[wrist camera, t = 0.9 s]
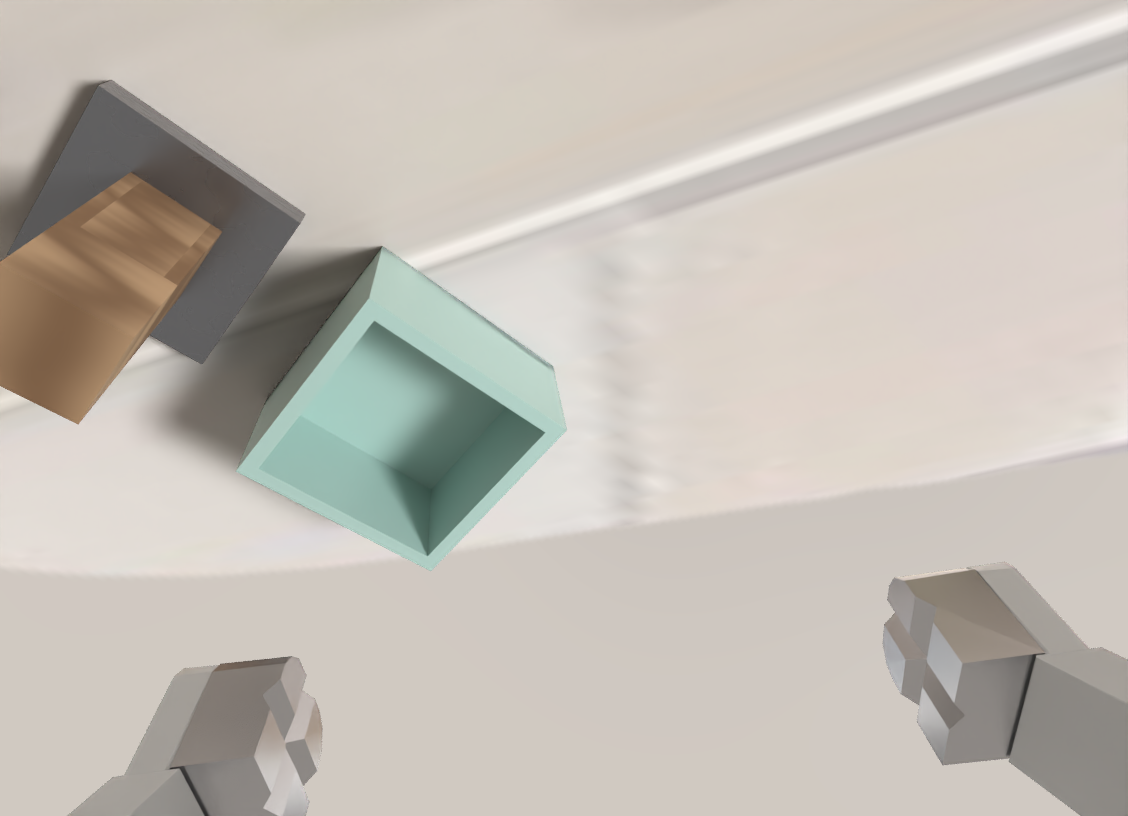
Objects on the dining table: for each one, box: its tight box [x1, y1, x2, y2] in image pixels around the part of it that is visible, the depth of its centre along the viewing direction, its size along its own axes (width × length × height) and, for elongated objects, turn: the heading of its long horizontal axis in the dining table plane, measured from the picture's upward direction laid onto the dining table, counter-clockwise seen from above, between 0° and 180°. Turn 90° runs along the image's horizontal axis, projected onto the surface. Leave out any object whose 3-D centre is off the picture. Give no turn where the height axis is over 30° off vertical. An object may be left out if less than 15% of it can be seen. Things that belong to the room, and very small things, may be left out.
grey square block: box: [7, 80, 305, 364], centre depth 35 cm, size 10×10×8 cm
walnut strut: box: [0, 172, 222, 424], centre depth 32 cm, size 5×5×12 cm
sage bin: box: [236, 246, 567, 571], centre depth 42 cm, size 12×12×7 cm
